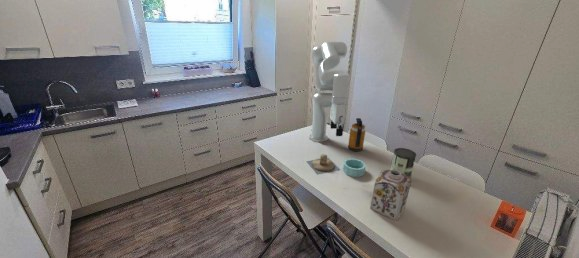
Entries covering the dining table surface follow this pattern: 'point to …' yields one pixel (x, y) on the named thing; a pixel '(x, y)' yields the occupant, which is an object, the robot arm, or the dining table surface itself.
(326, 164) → the lid
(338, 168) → the mat
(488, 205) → the dining table surface
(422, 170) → the dining table surface
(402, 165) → the coffee can
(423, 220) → the dining table surface
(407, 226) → the dining table surface
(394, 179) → the decorative jar
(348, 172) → the bowl
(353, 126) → the canister
